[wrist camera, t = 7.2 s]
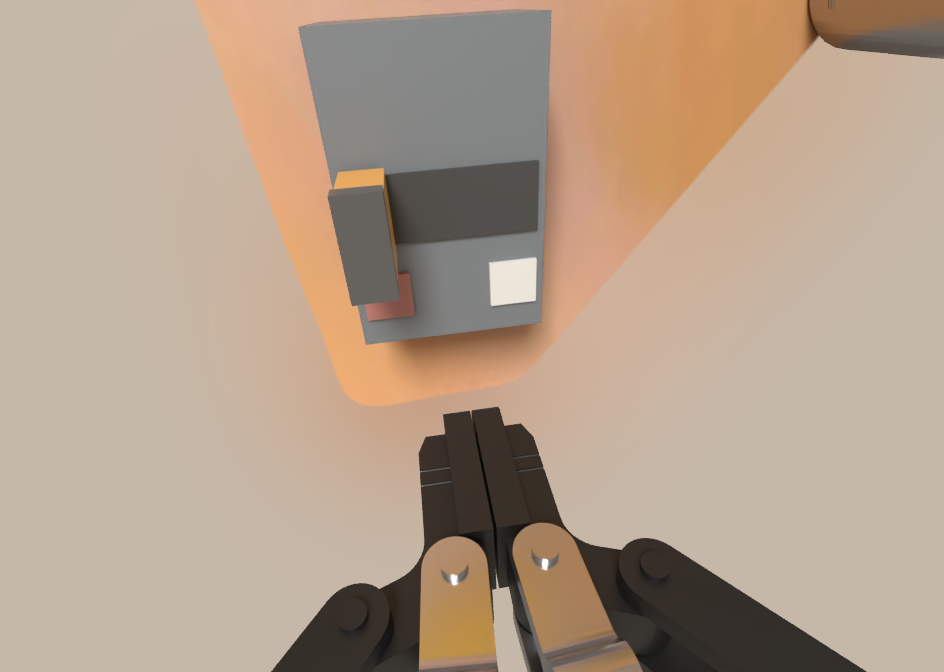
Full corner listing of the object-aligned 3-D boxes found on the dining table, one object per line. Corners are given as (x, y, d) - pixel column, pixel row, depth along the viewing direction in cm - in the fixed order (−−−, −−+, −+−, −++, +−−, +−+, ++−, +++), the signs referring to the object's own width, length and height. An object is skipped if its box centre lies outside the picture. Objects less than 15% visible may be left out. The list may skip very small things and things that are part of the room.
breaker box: (515, 9, 30) (553, 10, 23) (515, 271, 40) (542, 325, 34) (317, 22, 29) (297, 27, 22) (369, 288, 39) (365, 347, 32)
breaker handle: (383, 162, 26) (382, 191, 22) (397, 258, 29) (399, 300, 25) (337, 166, 26) (327, 196, 22) (356, 263, 29) (351, 305, 25)
